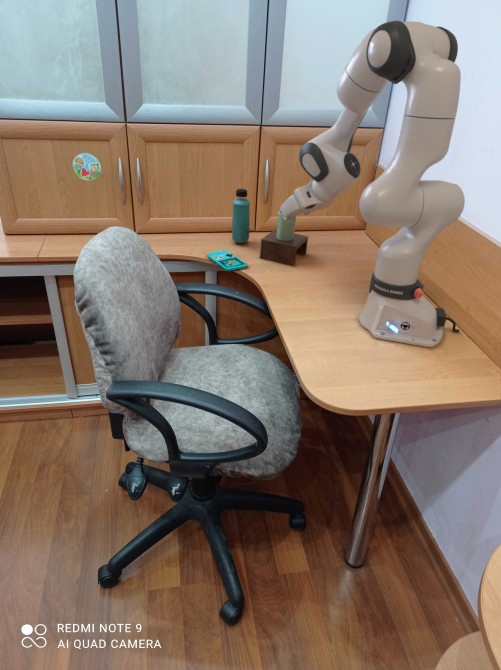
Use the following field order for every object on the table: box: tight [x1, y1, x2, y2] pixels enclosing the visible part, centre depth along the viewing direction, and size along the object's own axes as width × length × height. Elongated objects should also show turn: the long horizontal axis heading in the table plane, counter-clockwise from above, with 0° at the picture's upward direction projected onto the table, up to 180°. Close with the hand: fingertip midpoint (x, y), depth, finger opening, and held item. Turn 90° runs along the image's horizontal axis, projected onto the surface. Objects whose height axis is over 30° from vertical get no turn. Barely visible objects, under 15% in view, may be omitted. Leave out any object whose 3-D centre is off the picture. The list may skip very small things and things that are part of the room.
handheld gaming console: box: [207, 249, 248, 272], centre depth 164 cm, size 8×1×15 cm
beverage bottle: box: [231, 188, 251, 243], centre depth 174 cm, size 6×7×20 cm
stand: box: [259, 229, 309, 267], centre depth 168 cm, size 13×12×7 cm
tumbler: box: [276, 210, 297, 241], centre depth 164 cm, size 6×6×9 cm
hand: (295, 215), depth 159 cm, fingers open, 8 cm apart
